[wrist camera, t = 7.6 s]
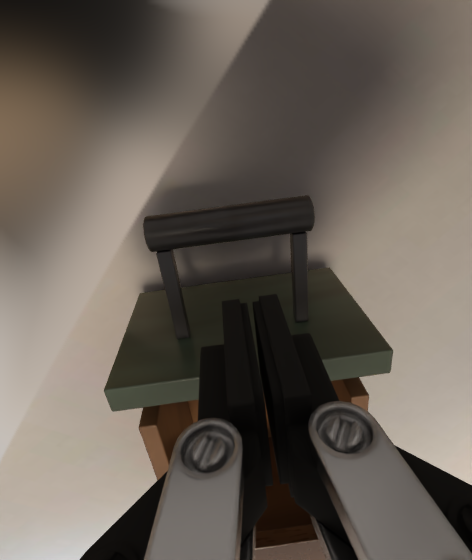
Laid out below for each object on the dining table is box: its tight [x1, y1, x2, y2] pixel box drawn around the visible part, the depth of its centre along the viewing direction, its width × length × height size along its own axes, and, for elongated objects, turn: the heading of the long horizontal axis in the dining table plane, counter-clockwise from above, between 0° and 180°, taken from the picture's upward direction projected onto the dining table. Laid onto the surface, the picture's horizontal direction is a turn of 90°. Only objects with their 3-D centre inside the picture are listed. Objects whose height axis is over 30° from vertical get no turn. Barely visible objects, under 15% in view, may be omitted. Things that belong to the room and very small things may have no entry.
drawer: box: [104, 195, 393, 532], centre depth 18 cm, size 19×11×8 cm, turn 6°
